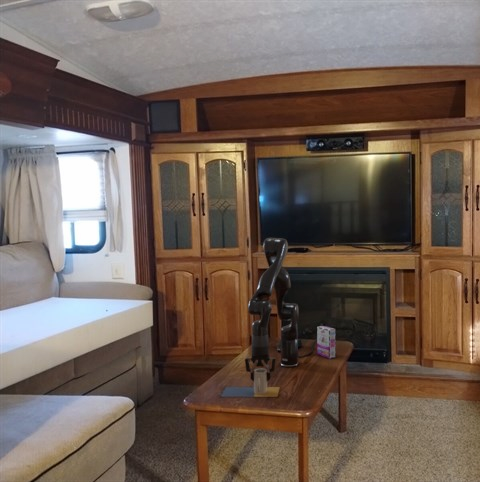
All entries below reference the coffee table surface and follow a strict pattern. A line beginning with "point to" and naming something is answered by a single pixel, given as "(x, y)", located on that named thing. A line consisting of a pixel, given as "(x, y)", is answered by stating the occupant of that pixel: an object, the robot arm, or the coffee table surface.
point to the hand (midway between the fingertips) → (260, 380)
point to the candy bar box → (326, 341)
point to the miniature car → (280, 344)
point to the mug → (260, 381)
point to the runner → (249, 392)
